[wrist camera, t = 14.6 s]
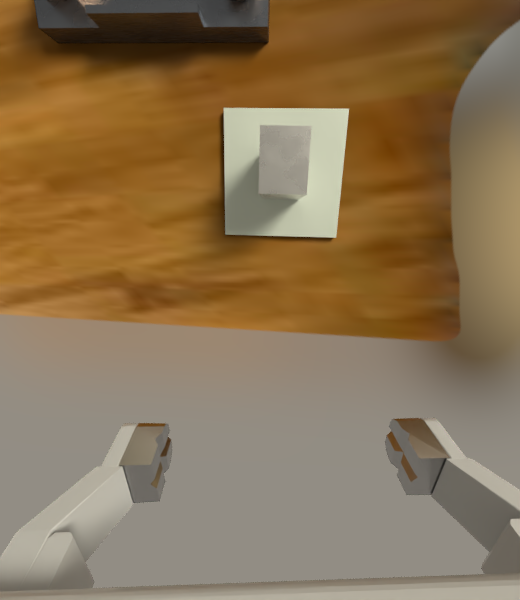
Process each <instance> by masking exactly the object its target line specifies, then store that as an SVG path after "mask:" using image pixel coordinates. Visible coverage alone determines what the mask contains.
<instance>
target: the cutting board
mask: <svg viewBox="0 0 520 600" xmlns="http://www.w3.org/2000/svg"><path fill="white" fill-rule="evenodd" d="M348 114H349V109H306V108H224V174H225V235H258V236H294V237H329V238H336V233H337V223H338V213H339V203H340V193H341V183H342V173H343V163H344V153H345V143H346V134H347V124H348ZM260 125H286V126H312V127H311V141H310V156H309V170H308V185H307V195H306V196H304V197H302V198H301V199H299V200H279V199H263V198H262V197H261V196H260V195H259V194H258V191H259V145H260Z"/></svg>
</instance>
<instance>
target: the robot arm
mask: <svg viewBox="0 0 520 600" xmlns="http://www.w3.org/2000/svg"><path fill="white" fill-rule="evenodd" d="M389 427H390V429H391V432H390V433H389V434H388V435H387V437H386V441H385V444H386V451H387V455H388V457H389V460H390V462H391V463H392V464H393V465H394V466H395V467H396V468H398V473H397V476H398V478H399V480H400V482H401V484H402V486H403V489H404V491H405V492H406V494H407V495H432V497H433V498H434V499H435V500H436V501H437V502H438V503H439V504H440V505H441V506H442V507H443V508H444V509H445V510H446V511H447V512H448V513H449V514H450V515H451V516H453V518H454V519H456V520H457V521H458V522H459V523H460V524H461V525H462V526H463V527H464V528H465V529H466V530H467V531H468V532H469V533H470V534H471V535H472V536H473V537H474V538H475V539H476V540H477V541H478V542H480V543H481V544H482V545H483V546H484V547H485V548H486V549H487V550H488V551H489V554H488V556H487V557H486V559H485V561H484V562H483V564H482V568H481V569H482V570H483V572H484V574H480V575H479V574H478V575H451V576H421V577H396V578H395V577H393V578H364V579H337V580H310V581H281V582H280V581H279V582H255V583H254V582H251V583H223V584H197V585H196V584H195V585H167V586H140V587H112V588H92V587H93V584H94V580H93V577H92V575H91V573H90V571H89V569H88V567H87V565H86V563H85V562H86V561H87V560H88V559H89V557H90V556H91V555H92V554H93V553H94V551H95V550H96V549H97V548H98V547H99V545H100V544H101V543H102V542H103V540H104V539H105V538H106V537H107V536H108V534H109V533H110V532H111V531H112V530H113V529H114V527H115V526H116V525H117V524H118V522H119V521H120V520H121V519H122V518H123V517H124V515H125V514H126V513H127V512H128V511H129V509H130V508H131V507H132V506H133V503H140V502H156V501H160V498H161V494H162V491H163V487H164V483H165V478H164V473H165V472H166V471H167V469H168V468H169V465H170V462H171V455H172V442H171V439H170V438H169V437H168V434H169V425H168V424H159V423H158V424H156V423H154V424H153V423H151V424H150V423H138V424H136V423H135V424H132V423H131V424H128V423H127V424H126V423H125V424H124V425H123V426H122V427H121V428H120V430H119V432H118V434H117V436H116V438H115V440H114V442H113V444H112V446H111V448H110V449H109V451H108V453H107V456H106V457H105V459H104V461H103V463H102V465H101V467H95V468H94V469H93V470H92V471H91V472H89V473H88V474H87V475H86V476H84V477H83V478H82V479H81V480H80V481H78V482H77V483H76V484H75V485H73V486H72V487H71V488H70V489H69V490H67V491H66V492H65V493H64V494H63V495H61V496H60V497H59V498H58V499H56V500H55V501H54V502H53V503H51V504H50V505H49V506H48V507H47V508H45V509H44V510H43V511H42V512H40V513H39V514H38V515H37V516H36V517H35V518H33V519H32V520H31V521H29V522H28V523H27V524H26V525H25V526H24V527H22V528H21V529H20V530H18V531H17V533H16V534H15V536H14V537H13V539H12V540H11V542H10V543H9V545H8V546H7V548H6V549H5V551H4V552H3V554H2V555H1V557H0V600H520V490H518V489H517V488H516V487H514V486H513V485H511V484H510V483H508V482H507V481H505V480H503V479H502V478H500V477H499V476H497V475H495V474H494V473H493V472H491V471H490V470H488V469H486V468H485V467H484V466H482V465H480V464H479V463H477V462H476V461H474V460H473V459H471V458H466V457H465V455H464V454H463V453H462V451H461V450H460V449H459V448H458V446H457V445H456V444H455V442H454V441H453V440H452V438H451V437H450V436H449V434H448V433H447V432H446V430H445V429H444V428H443V427H442V425H441V424H440V423H439V421H438V420H437V419H435V418H420V419H419V418H407V419H392V421H391V422H390V425H389Z"/></svg>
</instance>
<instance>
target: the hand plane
mask: <svg viewBox="0 0 520 600" xmlns="http://www.w3.org/2000/svg"><path fill="white" fill-rule="evenodd" d="M34 2H35V8H36V14H37V20H38V26H39V29H41V30H42V31H43V32H44V33H46V34H47V35H48V36H50V37H51V38H52V39H53V40H55V41H56V42H57V43H234V42H269V6H270V0H34Z"/></svg>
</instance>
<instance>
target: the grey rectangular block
mask: <svg viewBox="0 0 520 600" xmlns="http://www.w3.org/2000/svg"><path fill="white" fill-rule="evenodd" d="M311 127H312V126H286V125H260V145H259V191H258V194H259V195H260V196H261V197H262V198H263V199H279V200H299V199H301V198H302V197H304V196H306V195H307V185H308V170H309V156H310V141H311Z"/></svg>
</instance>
